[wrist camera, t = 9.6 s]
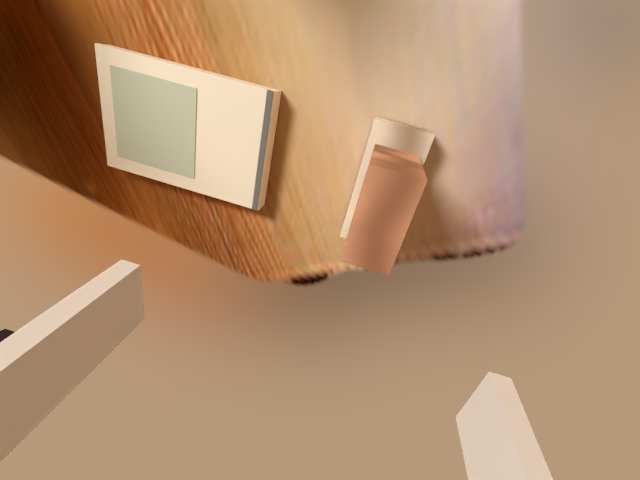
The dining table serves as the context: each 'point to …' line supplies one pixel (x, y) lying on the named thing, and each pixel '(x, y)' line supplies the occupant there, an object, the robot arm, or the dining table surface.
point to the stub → (385, 194)
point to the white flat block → (187, 125)
